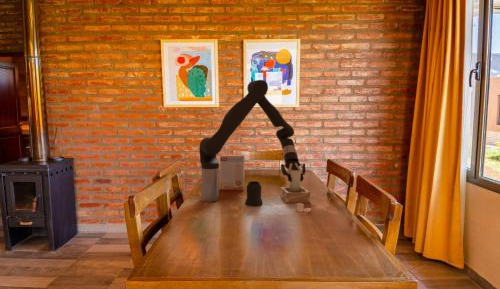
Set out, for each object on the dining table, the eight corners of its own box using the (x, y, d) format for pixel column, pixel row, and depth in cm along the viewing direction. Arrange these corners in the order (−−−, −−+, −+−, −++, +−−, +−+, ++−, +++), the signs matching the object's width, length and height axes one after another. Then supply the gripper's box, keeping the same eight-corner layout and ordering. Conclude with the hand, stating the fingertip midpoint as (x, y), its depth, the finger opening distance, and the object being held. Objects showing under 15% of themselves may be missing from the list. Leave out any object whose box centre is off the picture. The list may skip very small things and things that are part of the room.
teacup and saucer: (312, 211, 154) (313, 203, 153) (305, 216, 147) (306, 207, 147) (296, 208, 159) (296, 200, 158) (288, 212, 152) (289, 204, 152)
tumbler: (299, 190, 168) (299, 171, 167) (288, 189, 170) (288, 170, 169) (301, 187, 173) (301, 169, 172) (291, 186, 175) (291, 168, 174)
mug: (261, 206, 160) (261, 184, 158) (243, 206, 161) (243, 184, 160) (264, 200, 171) (264, 179, 170) (247, 199, 173) (247, 178, 171)
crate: (309, 202, 167) (310, 192, 167) (286, 203, 165) (286, 193, 165) (302, 196, 180) (302, 186, 179) (280, 196, 178) (280, 187, 177)
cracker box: (244, 188, 196) (244, 154, 193) (243, 191, 190) (243, 156, 188) (222, 187, 197) (221, 154, 195) (220, 190, 191) (220, 155, 189)
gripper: (279, 151, 176) (284, 177, 165) (304, 150, 178) (311, 176, 168) (276, 159, 182) (281, 185, 171) (301, 158, 184) (307, 184, 174)
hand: (296, 180), depth 170 cm, fingers closed on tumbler, 5 cm apart
